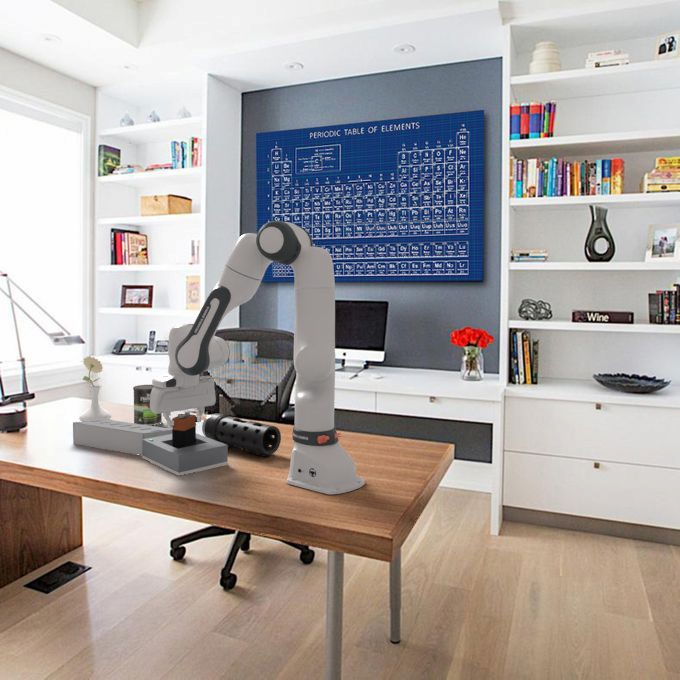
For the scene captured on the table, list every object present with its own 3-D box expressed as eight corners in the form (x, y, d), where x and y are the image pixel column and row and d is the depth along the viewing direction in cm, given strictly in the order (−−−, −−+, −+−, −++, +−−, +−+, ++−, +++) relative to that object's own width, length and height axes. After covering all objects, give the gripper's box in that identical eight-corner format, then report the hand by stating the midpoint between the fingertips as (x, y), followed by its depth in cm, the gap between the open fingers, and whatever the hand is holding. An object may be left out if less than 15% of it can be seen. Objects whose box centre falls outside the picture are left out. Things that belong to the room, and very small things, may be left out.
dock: (227, 464, 174) (227, 443, 174) (178, 476, 163) (178, 454, 162) (189, 448, 190) (189, 429, 189) (142, 458, 179) (142, 438, 178)
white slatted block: (174, 446, 194) (174, 423, 194) (143, 457, 181) (143, 433, 181) (107, 435, 207) (106, 413, 206) (73, 444, 194) (72, 422, 193)
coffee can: (164, 424, 221) (164, 387, 220) (136, 427, 216) (135, 389, 215) (159, 419, 230) (158, 383, 229) (131, 421, 225) (130, 385, 224)
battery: (171, 448, 173) (171, 415, 172) (183, 442, 180) (183, 410, 179) (184, 449, 172) (184, 416, 171) (196, 443, 179) (196, 411, 178)
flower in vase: (117, 421, 225) (115, 356, 223) (88, 426, 216) (87, 359, 214) (99, 416, 233) (97, 353, 231) (71, 421, 224) (69, 356, 222)
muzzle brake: (260, 461, 178) (260, 428, 177) (200, 445, 195) (199, 414, 194) (281, 454, 186) (282, 422, 185) (221, 439, 203) (221, 410, 202)
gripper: (208, 373, 184) (208, 417, 185) (146, 380, 169) (147, 427, 171) (219, 376, 179) (219, 420, 180) (157, 383, 165) (157, 431, 166)
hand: (184, 424), depth 175 cm, fingers closed on battery, 8 cm apart
